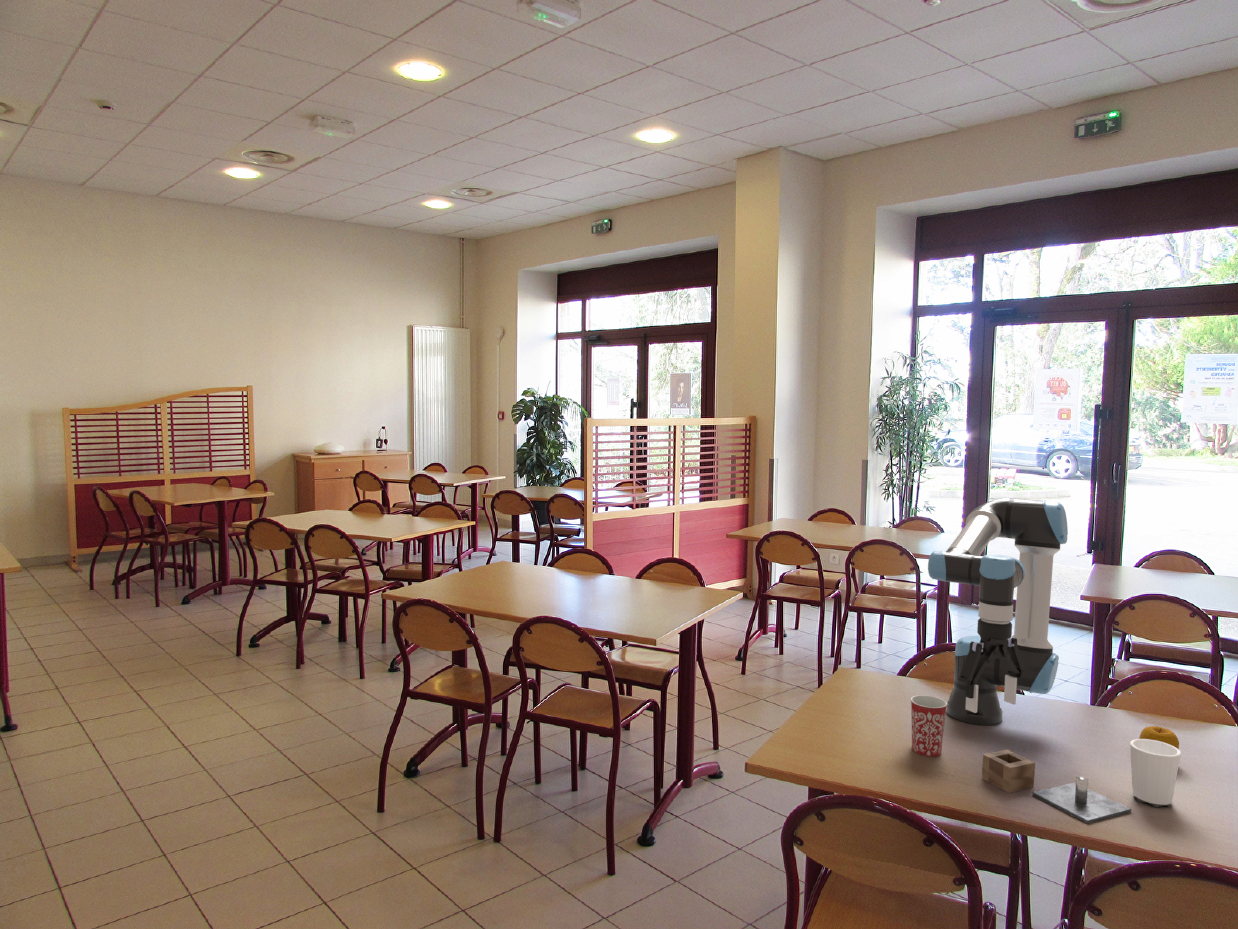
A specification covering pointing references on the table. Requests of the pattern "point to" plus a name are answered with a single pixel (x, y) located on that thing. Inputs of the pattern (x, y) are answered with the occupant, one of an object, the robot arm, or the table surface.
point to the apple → (1160, 735)
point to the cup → (1154, 771)
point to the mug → (927, 724)
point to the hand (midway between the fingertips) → (990, 706)
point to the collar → (1008, 770)
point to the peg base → (1081, 801)
